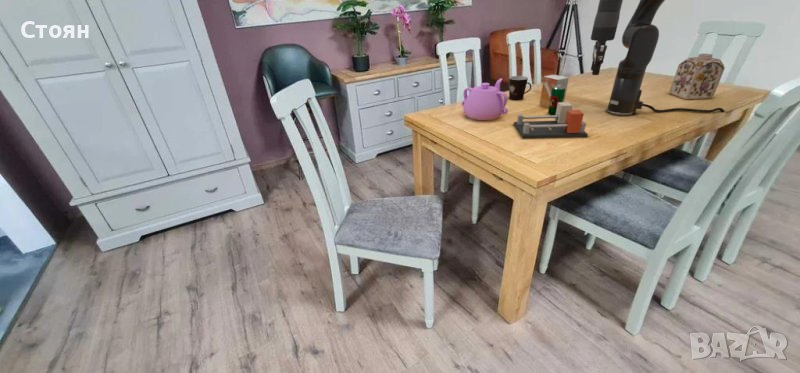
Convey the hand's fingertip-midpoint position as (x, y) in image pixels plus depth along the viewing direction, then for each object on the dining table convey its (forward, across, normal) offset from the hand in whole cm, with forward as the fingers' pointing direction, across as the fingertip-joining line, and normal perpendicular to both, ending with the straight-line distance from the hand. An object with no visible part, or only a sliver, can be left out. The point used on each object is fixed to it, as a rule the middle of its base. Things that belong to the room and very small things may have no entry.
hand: (594, 72), depth 126 cm
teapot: (+18, -5, +38) cm, 43 cm away
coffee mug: (+18, +21, +28) cm, 40 cm away
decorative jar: (+18, +43, -45) cm, 64 cm away
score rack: (+18, -19, +13) cm, 29 cm away
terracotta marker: (+16, -22, +5) cm, 27 cm away
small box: (+18, +13, +13) cm, 25 cm away
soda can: (+18, +2, +11) cm, 21 cm away
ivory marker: (+16, -12, +8) cm, 22 cm away
